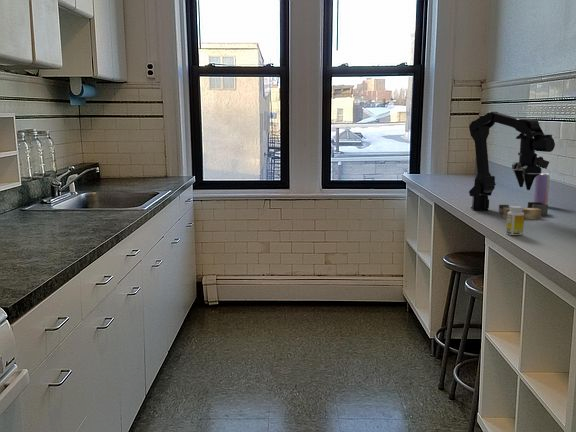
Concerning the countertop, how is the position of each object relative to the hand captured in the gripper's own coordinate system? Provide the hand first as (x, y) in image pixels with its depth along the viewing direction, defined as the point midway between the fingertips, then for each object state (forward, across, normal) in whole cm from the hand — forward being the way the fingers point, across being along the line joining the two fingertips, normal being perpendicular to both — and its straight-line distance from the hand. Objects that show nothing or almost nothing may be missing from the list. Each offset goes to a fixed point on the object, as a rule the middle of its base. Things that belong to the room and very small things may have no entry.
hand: (524, 188), depth 238 cm
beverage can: (+12, +30, -17) cm, 36 cm away
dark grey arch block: (+12, +9, +4) cm, 16 cm away
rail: (+12, 0, +1) cm, 12 cm away
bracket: (+12, +9, -8) cm, 17 cm away
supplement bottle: (+12, -34, +13) cm, 38 cm away
